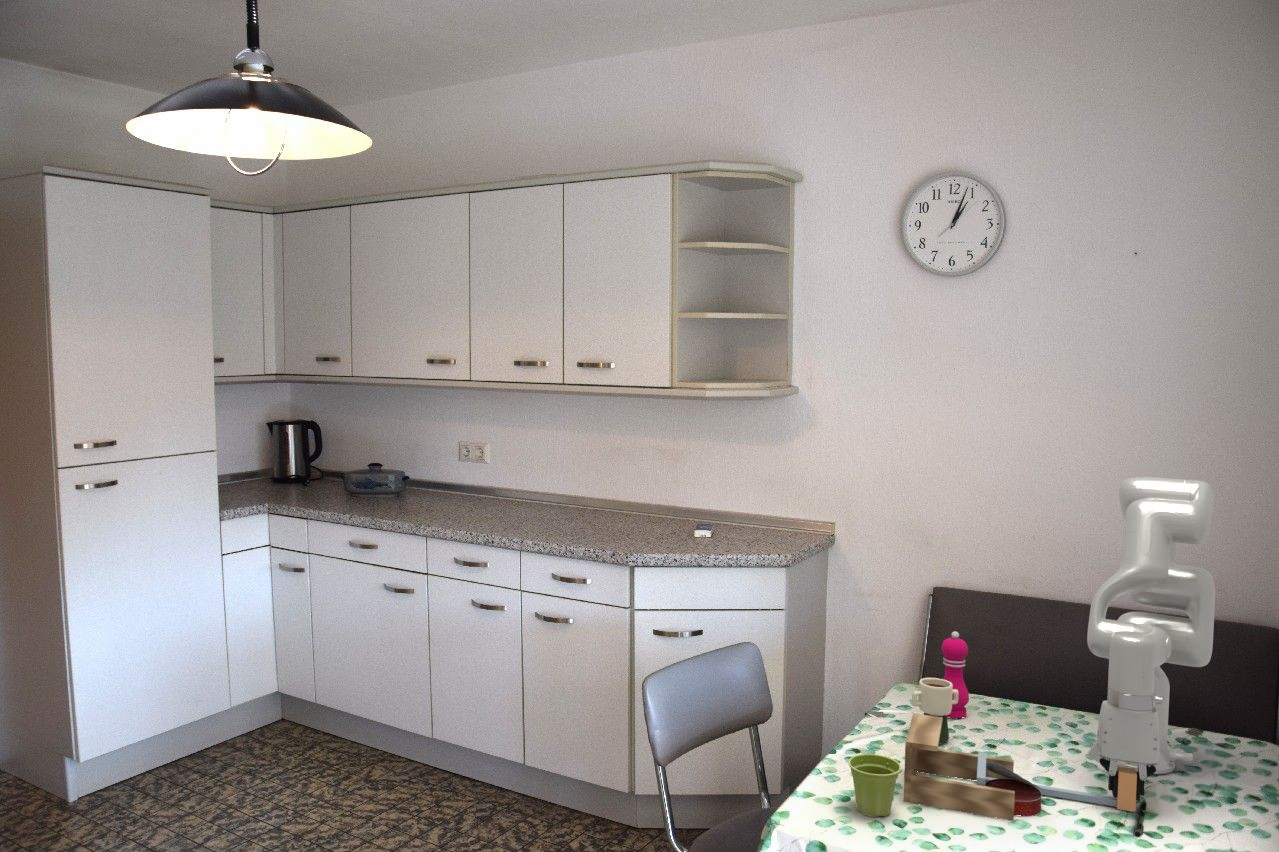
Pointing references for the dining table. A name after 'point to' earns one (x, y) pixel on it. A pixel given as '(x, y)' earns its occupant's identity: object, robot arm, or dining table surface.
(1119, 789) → the pull rod
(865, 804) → the plant pot
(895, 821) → the dining table surface
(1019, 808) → the canned food
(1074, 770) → the dining table surface
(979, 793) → the shelf lane
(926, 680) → the character mug
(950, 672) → the pepper mill
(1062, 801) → the dining table surface
